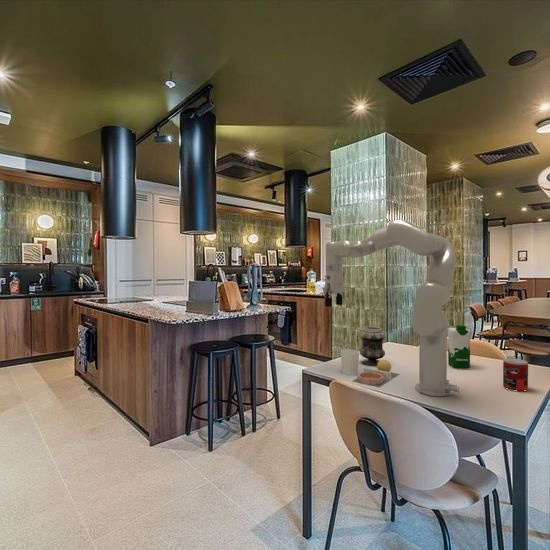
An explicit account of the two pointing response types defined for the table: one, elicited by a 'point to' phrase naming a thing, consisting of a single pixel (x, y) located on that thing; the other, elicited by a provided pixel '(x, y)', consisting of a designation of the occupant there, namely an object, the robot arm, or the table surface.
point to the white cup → (349, 361)
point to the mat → (383, 381)
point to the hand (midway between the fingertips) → (333, 305)
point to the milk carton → (459, 347)
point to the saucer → (370, 378)
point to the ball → (384, 365)
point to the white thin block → (386, 374)
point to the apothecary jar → (372, 345)
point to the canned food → (515, 374)
